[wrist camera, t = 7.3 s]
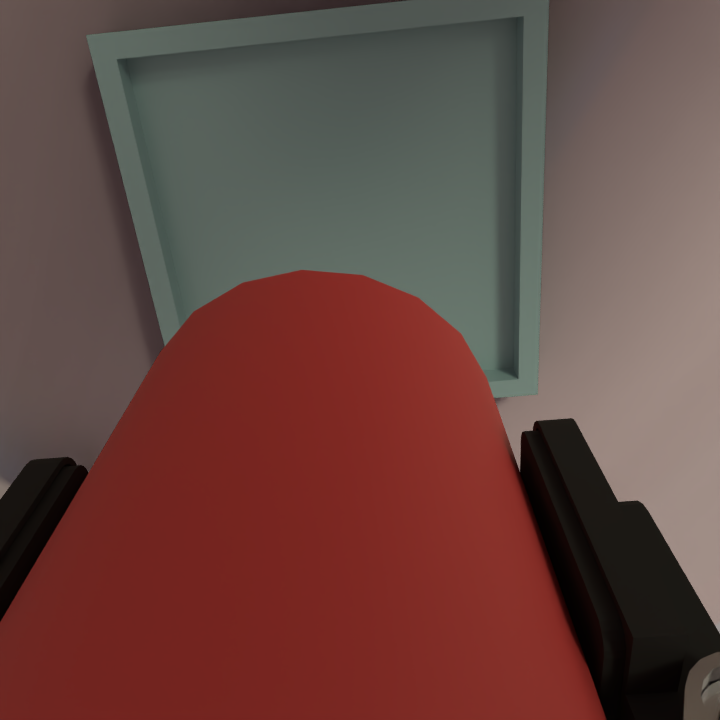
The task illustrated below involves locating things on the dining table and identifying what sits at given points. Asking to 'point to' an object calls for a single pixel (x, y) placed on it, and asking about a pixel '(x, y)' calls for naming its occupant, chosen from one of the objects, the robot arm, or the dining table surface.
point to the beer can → (300, 533)
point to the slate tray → (344, 159)
